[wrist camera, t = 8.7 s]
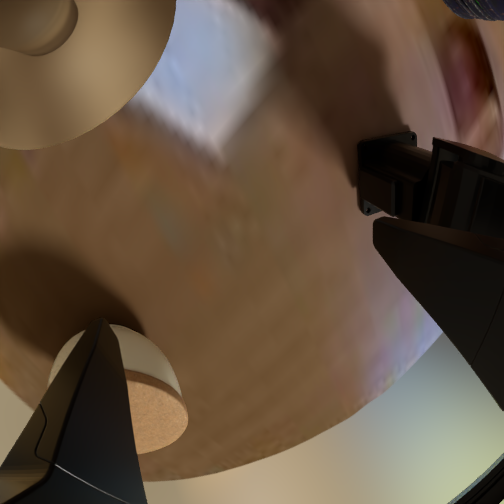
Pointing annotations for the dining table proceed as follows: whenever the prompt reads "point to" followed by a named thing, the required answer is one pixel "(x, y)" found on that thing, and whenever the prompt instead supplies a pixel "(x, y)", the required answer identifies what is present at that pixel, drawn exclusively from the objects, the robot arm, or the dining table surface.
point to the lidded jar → (144, 389)
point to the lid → (74, 64)
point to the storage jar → (477, 9)
